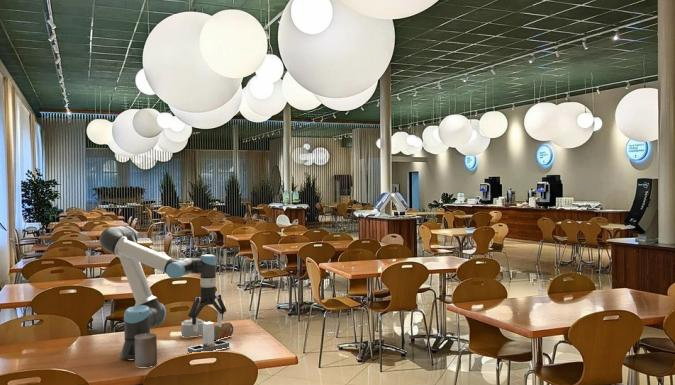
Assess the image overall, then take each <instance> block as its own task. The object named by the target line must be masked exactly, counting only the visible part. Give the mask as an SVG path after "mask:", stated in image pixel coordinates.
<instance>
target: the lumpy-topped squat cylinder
mask: <svg viewBox="0 0 675 385" xmlns="http://www.w3.org/2000/svg"><path fill="white" fill-rule="evenodd" d="M205 322H206V321H205V320H202V319H201V318H198V331H197V332H196V331H193V330H194V325H193V324H192V318H190V319H185V320H183V321H182V322H181V323H180V324H181V325H180V327H181V328H180V329H181V330H180V332H181V334H182V336H184V337H190V336H199V335H203V323H205ZM181 334H180V335H181ZM182 336H181V337H182Z"/></svg>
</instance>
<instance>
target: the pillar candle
mask: <svg viewBox="0 0 675 385" xmlns="http://www.w3.org/2000/svg"><path fill="white" fill-rule="evenodd" d="M134 338H135V360H134V365H135V366H137V367H150V366H154V365H156V364H157V365H158V349H157V348H158V345H157V344H158V343H157V341H158V340H157V334H156V333H153V332H150V333H145V334H139V335H136V336H135V337H134ZM157 365H156V366H157ZM137 367H136V368H137ZM154 367H155V366H154ZM150 368H151V367H150Z"/></svg>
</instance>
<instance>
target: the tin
mask: <svg viewBox="0 0 675 385" xmlns="http://www.w3.org/2000/svg"><path fill="white" fill-rule="evenodd" d="M233 334H234V326H233V324H232V323H231V322H222V327H218V326H217V324H214V340H218V339H221V338H224V337H228V336H231V337H232V336H233Z"/></svg>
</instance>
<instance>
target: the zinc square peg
mask: <svg viewBox="0 0 675 385" xmlns="http://www.w3.org/2000/svg"><path fill="white" fill-rule="evenodd" d="M214 325H215V322H213V321H205V323H203V336H202V344H203V346H205V347H209V346H211V345H214V342H215V341H214Z"/></svg>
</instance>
